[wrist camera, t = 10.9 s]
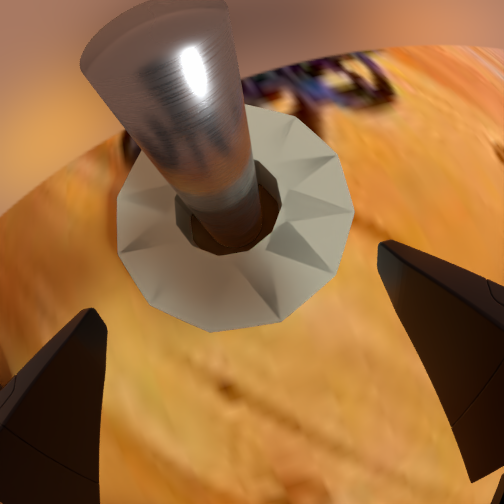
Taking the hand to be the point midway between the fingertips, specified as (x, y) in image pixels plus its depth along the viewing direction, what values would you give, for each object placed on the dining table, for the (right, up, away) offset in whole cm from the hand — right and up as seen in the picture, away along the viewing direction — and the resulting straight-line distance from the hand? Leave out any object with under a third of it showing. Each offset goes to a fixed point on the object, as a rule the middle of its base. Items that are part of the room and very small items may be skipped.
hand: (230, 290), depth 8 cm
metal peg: (0, +3, +9) cm, 9 cm away
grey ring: (0, +3, +9) cm, 9 cm away
